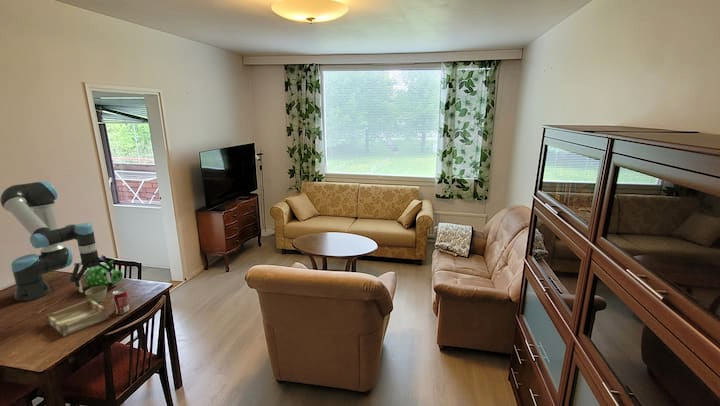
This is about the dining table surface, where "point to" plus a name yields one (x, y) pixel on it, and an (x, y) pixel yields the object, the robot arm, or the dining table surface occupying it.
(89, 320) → the crate
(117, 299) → the soda can
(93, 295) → the flower pot
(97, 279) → the piggy bank
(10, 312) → the dining table surface
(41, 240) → the robot arm
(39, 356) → the dining table surface
